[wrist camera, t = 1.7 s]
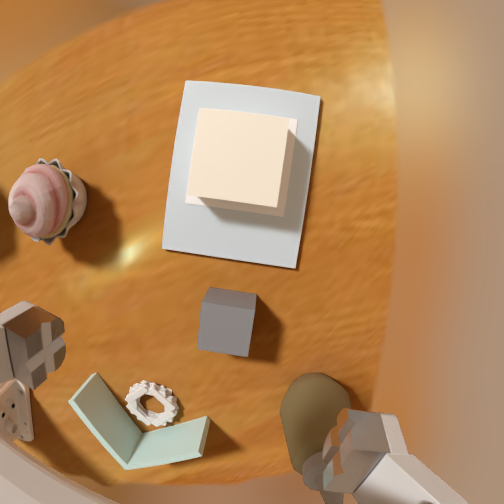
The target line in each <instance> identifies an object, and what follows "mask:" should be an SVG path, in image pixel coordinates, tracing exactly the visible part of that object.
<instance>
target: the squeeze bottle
mask: <svg viewBox="0 0 504 504" xmlns="http://www.w3.org/2000/svg"><path fill="white" fill-rule="evenodd" d="M343 408H348V409H351V404H350V399H349V394H348V393H347V391H346V390H345V389H344V388H343V387H342V386H341V385H340V384H338V383H337V382H336V381H335V380H333V379H332V378H331V377H329V376H327V375H325V374H322V373H308V374H304V375H302V376H300V377H299V378H297V379H296V380H294V382H293V383H292V384H291V386H290V387H289V389H288V391H287V393H286V395H285V397H284V399H283V400H282V403H281V409H280V416H281V420H282V424H283V429H284V433H285V438H286V442H287V446H288V451H289V455H290V459H291V463H292V465H293V468H294V470H296V471H297V472H299V473H300V474H301V475H303V481H304V483H305V485H306V486H307V487H309V488H310V489H313V490H317V491H320V493H321V495H322V497H323V499H324V501H325V504H343V495H344V493H341V492H333V491H325V490H324V485H323V471H324V470H325V468H326V467H327V464H326V463H325V462H324V461H323V446H324V443H325V440H326V437H327V435H328V433H329V431H330V429H332V428H334V427H335V426H337V417H338V415H339V413H340V411H341V410H342V409H343Z"/></svg>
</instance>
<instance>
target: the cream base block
mask: <svg viewBox="0 0 504 504" xmlns="http://www.w3.org/2000/svg"><path fill="white" fill-rule="evenodd" d="M288 126H289V118H283V117H276V116H269V115H262V114H254V113H246V112H237V111H227V110H217V109H205V108H200V110H199V116H198V122H197V128H196V134H195V140H194V147H193V153H192V160H191V167H190V174H189V181H188V189H187V195H189V196H197V197H205V198H213V199H221V200H228V201H236V202H243V203H250V204H257V205H264V206H270V207H277V202H278V196H279V189H280V182H281V175H282V168H283V161H284V154H285V147H286V140H287V133H288Z"/></svg>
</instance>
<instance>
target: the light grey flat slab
mask: <svg viewBox="0 0 504 504" xmlns="http://www.w3.org/2000/svg"><path fill="white" fill-rule="evenodd" d="M319 104H320V96H316V95H311V94H305V93H299V92H293V91H287V90H280V89H273V88H266V87H258V86H250V85H240V84H230V83H218V82H203V81H186V83H185V88H184V93H183V98H182V104H181V109H180V115H179V120H178V126H177V132H176V138H175V145H174V151H173V158H172V165H171V172H170V180H169V187H168V195H167V204H166V212H165V222H164V231H163V242H162V249H168V250H175V251H181V252H188V253H194V254H201V255H207V256H214V257H221V258H227V259H234V260H241V261H248V262H254V263H261V264H268V265H275V266H282V267H289V268H295V267H296V261H297V256H298V250H299V244H300V238H301V232H302V225H303V219H304V213H305V206H306V200H307V193H308V187H309V180H310V173H311V166H312V159H313V151H314V144H315V136H316V129H317V121H318V113H319ZM200 108H205V109H217V110H227V111H237V112H246V113H254V114H262V115H269V116H276V117H283V118H289V126H288V133H287V140H286V147H285V154H284V161H283V168H282V175H281V182H280V189H279V196H278V202H277V207H270V206H264V205H257V204H250V203H243V202H236V201H228V200H221V199H213V198H205V197H197V196H189V195H187V189H188V181H189V174H190V167H191V160H192V153H193V147H194V140H195V134H196V128H197V122H198V116H199V110H200Z"/></svg>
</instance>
